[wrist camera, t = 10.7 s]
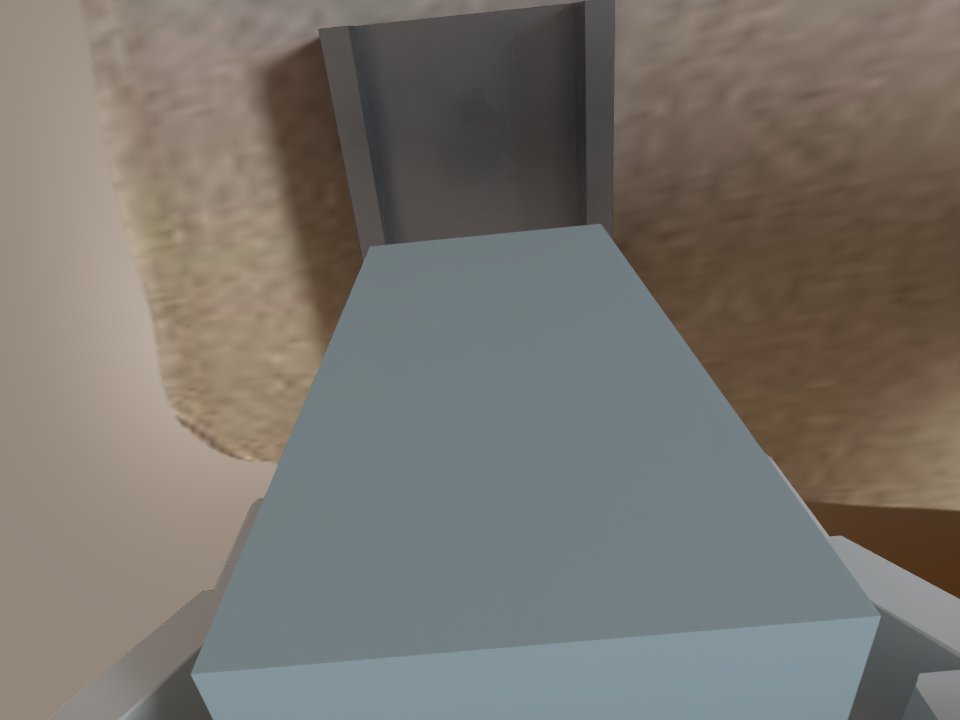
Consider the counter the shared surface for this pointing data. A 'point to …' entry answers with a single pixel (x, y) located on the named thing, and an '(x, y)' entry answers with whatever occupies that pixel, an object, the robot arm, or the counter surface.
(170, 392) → the counter surface
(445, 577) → the block
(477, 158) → the keeper
